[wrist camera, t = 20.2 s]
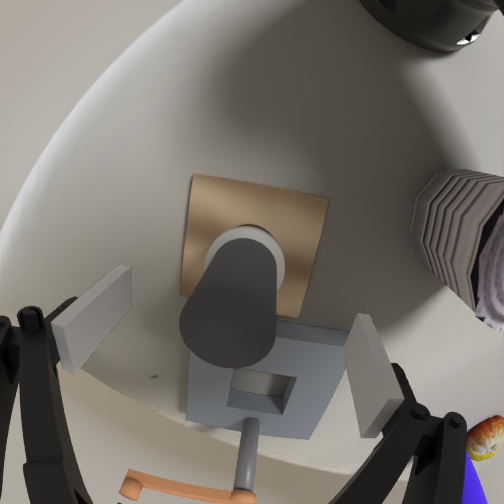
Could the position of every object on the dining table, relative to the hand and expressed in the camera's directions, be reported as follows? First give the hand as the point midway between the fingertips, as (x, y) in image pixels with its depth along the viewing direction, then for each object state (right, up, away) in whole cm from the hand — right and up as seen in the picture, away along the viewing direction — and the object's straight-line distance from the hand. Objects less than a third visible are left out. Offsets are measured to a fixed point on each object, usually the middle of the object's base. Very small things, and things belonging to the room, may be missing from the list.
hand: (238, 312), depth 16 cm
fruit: (+47, -32, +20) cm, 60 cm away
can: (+21, +6, +9) cm, 24 cm away
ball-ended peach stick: (-6, -20, +6) cm, 22 cm away
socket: (+2, -11, +16) cm, 20 cm away
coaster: (0, +4, +12) cm, 12 cm away
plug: (0, +3, +11) cm, 11 cm away
